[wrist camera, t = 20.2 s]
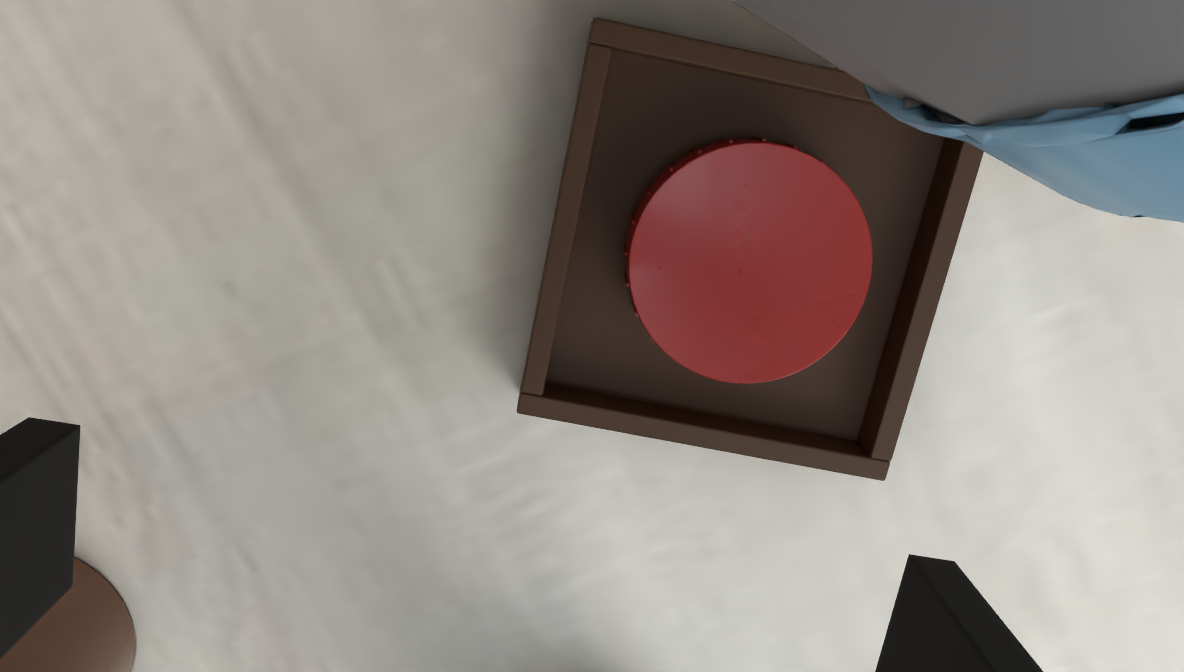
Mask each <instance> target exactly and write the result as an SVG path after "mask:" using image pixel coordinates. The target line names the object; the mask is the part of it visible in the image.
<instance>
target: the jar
mask: <svg viewBox="0 0 1184 672" xmlns="http://www.w3.org/2000/svg"><path fill="white" fill-rule="evenodd" d="M134 657H135V633H134V628H133V624H132V620H131V617H130V615H129V612H128V610H127V608H126V606H125V604H124V602H123V601H122V599H121V597H120V596H119V594H118V593H117V592H116V591H115V589H114V588H113V587H112V586H111V585H110V584H109V583H108V582H107V581H106V580H105V579H104V578H103V577H102V576H101V575H100V574H99V573H98V572H96V571H95V570H94V569H93V568H91V567H90V566H88V565H86V564H85V563H83V562H82V561H80V560H78V559H76V558H74V565H73V585H72V587H71V588H70V589H69V590H68V591H67V592H66V593H65V594H64V595H63V596H62V597H61V598H60V599H59V600H58V601H57V602H56V603H55V604H54V605H53V606H52V607H51V608H50V609H49V610H48V611H47V612H46V613H45V614H44V615H43V616H42V617H41V618H40V619H39V620H38V621H37V622H36V623H35V624H34V625H33V627H32V628H31V629H30V630H29V631H28V632H27V633H26V634H25V635H24V636H23V637H22V638H21V639H20V640H19V641H18V642H17V643H16V644H15V645H14V646H13V647H12V648H11V649H10V650H9V651H8V652H7V653H6V654H5V655H4V656H3V657H2V658H1V659H0V672H131V669H132V666H133V663H134Z"/></svg>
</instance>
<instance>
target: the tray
mask: <svg viewBox="0 0 1184 672" xmlns="http://www.w3.org/2000/svg"><path fill="white" fill-rule="evenodd" d="M754 136H756V137H761V138H764V139H766V141H770V142H774V143H778V144H781V145H784V144H785V143H787V144H791V145H795V146H797V149H798V150H800V151H803V152H805V153H807V154H809V155H811V156H813V157H815V158H817V159H819V160H823V161H824V162H825V164H826V165H827V166H828V167H830V168H831V169H832V170H833V171H834V172H835V173H837V174H838V175H839V176H840V177H841V178H842V180H843V181H844V182H845V183H847V185H848V186H849V188H850V189H851V191H852V192H853V194H854V195H855V197H856V198H857V200H858V202H859V204H860V206H861V208H862V210H863V212H864V214H865V217H866V221H867V224H868V227H869V230H870V236H871V242H872V258H873V262H872V273H871V279H870V284H869V288H868V292H867V295H866V298H865V300H864V303H863V306H862V308H861V310H860V312H859V314H858V316H857V318H856V320H855V322H854V323H853V324H852V326H851V327H850V329H849V330H848V332H847V333H846V334H845V336H844V337H843V338H842V339H841V340H840V341H839V342H838V343H837V345H836V346H835V347H834V348H832V349H831V350H830V351H829V352H828V353H827V354H826V355H825V356H823V357H822V358H821V359H819V360H818V361H816V362H815V363H813V364H812V365H810V366H808V367H806V368H805V369H803V370H801V371H799V372H797V373H794V374H792V375H789V376H786V377H784V378H781V379H777V380H772V381H768V382H761V383H752V384H738V383H729V382H722V381H717V380H714V379H710V378H706V377H704V376H701V375H699V374H697V373H694V372H692V371H690V370H688V369H687V368H685V367H683V366H681V365H680V364H678V363H677V362H675V361H674V360H673V359H672V358H670V357H669V356H668V355H667V354H665V353H664V351H663V350H662V349H661V348H660V347H659V346H658V345H657V344H656V343H655V342H653V341H652V340H651V337H650V335H649V334H648V333H647V331H646V329H645V328H644V326H643V324H642V322H641V320H640V318H639V316H637V317H636V315H635V312H634V309H633V305H632V304H634V303H633V300H632V297H631V293H630V290H629V287H626V283H625V280H624V276H625V275H626V268H625V253H624V250H623V245H626V240H627V234H628V230H629V226H630V223H631V220H630V215H632V216H633V215H634V212H635V210H636V208H637V206H638V203H639V202H640V200H641V199H642V197H643V195H644V194H645V191H644V189H645V188H649V187H650V185H651V184H652V183H653V182H654V180H655V179H656V178H657V177H658V176H659V175H660V174H661V173H662V172H663V171H664V170H665V169H666V167H665V166H666V165H667V164H669V165H671V164H673V163H674V162H675V161H677V160H678V159H680V158H681V157H683V156H685V155H686V154H688V153H690V152H692V151H693V150H692V148H694V147H696V148H701V147H704V146H706V145H709V144H712V143H716V142H720V141H723V138H728V139H731V140H733V139H754ZM983 152H984V151H983V150H981V149H979V148H977V147H975V146H974V145H972V144H970V143H968V142H966V141H961V140H957V139H953V138H948V137H943V136H939V135H935V134H931V133H927V132H924V131H921V130H918V129H916V128H915V127H912V126H910V125H908V124H906V123H903V122H901V121H899V120H897V119H896V118H894V117H893V116H892V115H890V114H889V113H887V112H886V111H885V110H883V109H882V108H880V107H879V106H877V105H876V104H874V103H873V102H872V101H871V100H870V99H869V98H868V96H867V94H866V92H865V89H864V87H863V85H862V82H860V81H859V80H857V79H856V78H854V77H852V76H851V75H849V74H848V73H846V72H844V71H841V70H837V69H832V68H827V67H823V66H818V65H813V64H809V63H804V62H800V61H795V60H790V59H786V58H781V57H777V56H772V55H767V54H763V53H758V52H753V51H749V50H744V49H740V48H735V47H730V46H726V45H721V44H716V43H712V42H707V41H703V40H698V39H693V38H689V37H684V36H680V35H675V34H670V33H666V32H661V31H656V30H652V29H647V28H643V27H638V26H633V25H629V24H624V23H620V22H615V21H610V20H606V19H601V18H594V19H593V21H592V23H591V29H590V34H589V39H588V44H587V49H586V54H585V59H584V64H583V70H582V75H581V80H580V85H579V90H578V95H577V100H576V106H575V111H574V116H573V121H572V126H571V131H570V136H569V142H568V147H567V152H566V157H565V162H564V167H563V172H562V177H561V183H560V188H559V193H558V198H557V203H556V208H555V213H554V219H553V224H552V229H551V234H550V239H549V244H548V249H547V255H546V260H545V265H544V270H543V275H542V280H541V285H540V291H539V296H538V301H537V306H536V311H535V316H534V321H533V326H532V332H531V337H530V342H529V347H528V352H527V357H526V362H525V368H524V373H523V378H522V383H521V388H520V393H519V400H518V406H517V413H520V414H525V415H530V416H536V417H541V418H547V419H552V420H558V421H563V422H568V423H574V424H579V425H585V426H590V427H595V428H601V429H606V430H612V431H617V432H622V433H628V434H633V435H639V436H644V437H649V438H655V439H660V440H666V441H671V442H676V443H682V444H687V445H693V446H698V447H703V448H709V449H714V450H720V451H725V452H730V453H736V454H741V455H747V456H752V457H757V458H763V459H768V460H774V461H779V462H784V463H790V464H795V465H801V466H806V467H811V468H817V469H822V470H828V471H833V472H838V473H844V474H849V475H855V476H860V477H865V478H871V479H876V480H882V481H884V480H885V478H886V475H887V471H888V468H889V465H890V461H891V459H892V456H893V452H894V449H895V446H896V442H897V439H898V436H899V432H900V429H901V426H902V422H903V419H904V416H905V412H906V409H907V406H908V402H909V399H910V396H911V392H912V389H913V386H914V382H915V379H916V376H917V372H918V369H919V366H920V362H921V359H922V356H923V352H924V349H925V346H926V342H927V339H928V336H929V332H930V329H931V326H932V322H933V319H934V316H935V312H936V309H937V306H938V302H939V299H940V296H941V292H942V289H943V286H944V282H945V279H946V276H947V272H948V269H949V266H950V262H951V259H952V256H953V252H954V249H955V246H956V242H957V239H958V236H959V232H960V229H961V226H962V222H963V219H964V216H965V212H966V209H967V206H968V202H969V199H970V196H971V192H972V189H973V186H974V182H975V179H976V176H977V172H978V169H979V166H980V162H981V159H982V156H983Z"/></svg>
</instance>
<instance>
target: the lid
mask: <svg viewBox="0 0 1184 672" xmlns="http://www.w3.org/2000/svg"><path fill="white" fill-rule="evenodd" d="M692 150H693V151H692V152H690V153H688V154H686V155H685V156H683V157H681V158H680V159H678V160H677V161H675V162H674V163H673V164H671V165H669V164H667V165H666V166H665V167H666V169H665V170H664V171H663V172H662V173H661V174H660V175H659V176H658V177H657V178H656V179H655V180H654V182H653V183H652V184H651V185H650V187H649V188H645V189H644V191H645V194H644V195H643V197H642V199H641V200H640V202H639V203H638V206H637V208H636V210H635V212H634V215H633V216H632V215H630V220H631V223H630V226H629V230H628V234H627V240H626V245H623V250H624V253H625V268H626V275H625V276H624V280H625V283H626V287H629V290H630V293H631V297H632V300H633V303H634V304H632V305H633V309H634V312H635V315H636V317H637V316H639V318H640V320H641V322H642V324H643V326H644V328H645V329H646V331H647V333H648V334H649V335H650V337H651V340H652V341H653V342H655V343H656V344H657V345H658V346H659V347H660V348H661V349H662V350H663V351H664V353H665V354H667V355H668V356H669V357H670V358H672V359H673V360H674V361H675V362H677V363H678V364H680V365H681V366H683V367H685V368H687V369H688V370H690V371H692V372H694V373H697V374H699V375H701V376H704V377H706V378H710V379H714V380H717V381H722V382H729V383H738V384H752V383H761V382H768V381H772V380H777V379H781V378H784V377H786V376H789V375H792V374H794V373H797V372H799V371H801V370H803V369H805V368H806V367H808V366H810V365H812V364H813V363H815V362H816V361H818V360H819V359H821V358H822V357H823V356H825V355H826V354H827V353H828V352H829V351H830V350H831V349H832V348H834V347H835V346H836V345H837V343H838V342H839V341H840V340H841V339H842V338H843V337H844V336H845V334H846V333H847V332H848V330H849V329H850V327H851V326H852V324H853V323H854V322H855V320H856V318H857V316H858V314H859V312H860V310H861V308H862V306H863V303H864V300H865V298H866V295H867V292H868V288H869V284H870V279H871V273H872V262H873V258H872V242H871V236H870V230H869V227H868V224H867V221H866V217H865V214H864V212H863V210H862V208H861V206H860V204H859V202H858V200H857V198H856V197H855V195H854V194H853V192H852V191H851V189H850V188H849V186H848V185H847V183H845V182H844V181H843V180H842V178H841V177H840V176H839V175H838V174H837V173H835V172H834V171H833V170H832V169H831V168H830V167H828V166H827V165H826V164H825V162H824V161H823V160H819V159H817V158H815V157H813V156H811V155H809V154H807V153H805V152H803V151H800V150H798V149H797V146H795V145H791V144H787V143H785V144H784V145H781V144H778V143H774V142H770V141H766V139H764V138H761V137H756V136H754V139H733V140H731V139H728V138H723V141H720V142H716V143H712V144H709V145H706V146H704V147H701V148H696V147H694V148H692Z"/></svg>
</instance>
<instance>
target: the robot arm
mask: <svg viewBox="0 0 1184 672" xmlns="http://www.w3.org/2000/svg"><path fill="white" fill-rule="evenodd" d="M731 1H733V2H734V3H736V4H737V5H739V6H741V7H742V8H744V9H745V10H747V11H749V12H750V13H752V14H753V15H755V16H757V17H758V18H760V19H761V20H763V21H765V22H766V23H768V24H769V25H771V26H773V27H774V28H776V29H777V30H779V31H781V32H782V33H784V34H785V35H787V36H789V37H790V38H792V39H793V40H795V41H797V42H798V43H800V44H801V45H803V46H804V47H806V48H808V49H809V50H811V51H812V52H814V53H816V54H817V55H819V56H820V57H822V58H824V59H825V60H827V61H828V62H830V63H832V64H833V65H835V66H836V67H838V68H840V69H841V70H843V71H844V72H846V73H848V74H849V75H851V76H852V77H854V78H856V79H857V80H859V81H860V82H862V85H863V87H864V89H865V92H866V94H867V96H868V98H869V99H870V100H871V101H872V102H873V103H874V104H876V105H877V106H879V107H880V108H882V109H883V110H885V111H886V112H887V113H889V114H890V115H892V116H893V117H894V118H896V119H897V120H899V121H901V122H903V123H906V124H908V125H910V126H912V127H915V128H916V129H918V130H921V131H924V132H927V133H931V134H935V135H939V136H943V137H948V138H953V139H957V140H961V141H966V142H968V143H970V144H972V145H974V146H975V147H977V148H979V149H981V150H983V151H984V152H986V153H988V154H990V155H991V156H993V157H995V158H997V159H999V160H1000V161H1002V162H1004V163H1006V164H1008V165H1009V166H1011V167H1013V168H1015V169H1016V170H1018V171H1020V172H1022V173H1024V174H1025V175H1027V176H1029V177H1031V178H1033V179H1034V180H1036V181H1038V182H1040V183H1041V184H1043V185H1045V186H1047V187H1049V188H1050V189H1052V190H1054V191H1056V192H1058V193H1059V194H1061V195H1064V196H1066V197H1068V198H1070V199H1072V200H1074V201H1076V202H1079V203H1081V204H1084V205H1087V206H1089V207H1092V208H1095V209H1098V210H1101V211H1105V212H1109V213H1113V214H1116V215H1120V216H1128V217H1151V218H1156V219H1163V220H1171V221H1178V222H1183V223H1184V0H731ZM79 441H80V425H75V424H68V423H62V422H56V421H49V420H43V419H36V418H30V417H29V418H27V419H25V420H24V421H22V422H21V423H19V424H17V425H16V426H14V427H12V428H11V429H9V430H8V431H6V432H4V433H3V434H1V435H0V659H1V658H2V657H3V656H4V655H5V654H6V653H7V652H8V651H9V650H10V649H11V648H12V647H13V646H14V645H15V644H16V643H17V642H18V641H19V640H20V639H21V638H22V637H23V636H24V635H25V634H26V633H27V632H28V631H29V630H30V629H31V628H32V627H33V625H34V624H35V623H36V622H37V621H38V620H39V619H40V618H41V617H42V616H43V615H44V614H45V613H46V612H47V611H48V610H49V609H50V608H51V607H52V606H53V605H54V604H55V603H56V602H57V601H58V600H59V599H60V598H61V597H62V596H63V595H64V594H65V593H66V592H67V591H68V590H69V589H70V588H71V587H72V585H73V565H74V544H75V524H76V503H77V483H78V462H79ZM875 672H1043V671H1042V670H1041V668H1040V667H1039V666H1038V665H1037V663H1036V662H1035V661H1034V660H1033V658H1032V657H1031V656H1030V655H1029V653H1028V652H1027V651H1026V650H1025V649H1024V647H1023V646H1022V645H1021V644H1020V642H1019V641H1018V640H1017V639H1016V637H1015V636H1014V635H1013V634H1012V632H1011V631H1010V630H1009V629H1008V627H1007V626H1006V625H1005V624H1004V622H1003V621H1002V620H1001V619H1000V617H999V616H998V615H997V614H996V612H995V611H994V610H993V609H992V607H991V606H990V605H989V604H988V603H987V601H986V600H985V599H984V598H983V596H982V595H981V594H980V593H979V591H978V590H977V589H976V588H975V586H974V585H973V584H972V583H971V581H970V580H969V579H968V578H967V576H966V575H965V574H964V573H963V571H962V570H961V569H960V568H959V566H958V565H957V564H956V563H955V561H948V560H942V559H935V558H929V557H923V556H916V555H910V554H909V556H908V559H907V563H906V566H905V570H904V573H903V577H902V580H901V584H900V587H899V591H898V594H897V598H896V601H895V605H894V608H893V612H892V615H891V619H890V622H889V626H888V629H887V633H886V636H885V640H884V643H883V647H882V650H881V654H880V657H879V661H878V664H877V668H876V671H875Z"/></svg>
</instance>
